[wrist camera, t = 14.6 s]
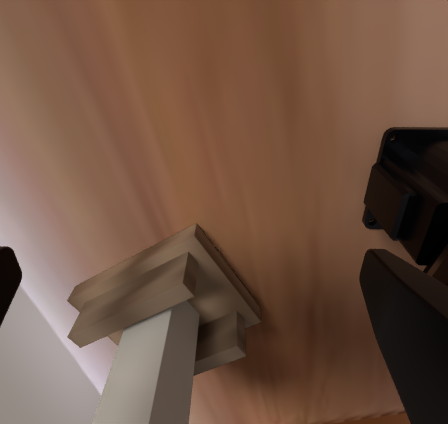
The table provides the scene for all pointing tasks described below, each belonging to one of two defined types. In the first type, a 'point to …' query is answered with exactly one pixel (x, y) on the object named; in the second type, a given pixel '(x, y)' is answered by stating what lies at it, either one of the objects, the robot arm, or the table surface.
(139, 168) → the table surface
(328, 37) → the table surface
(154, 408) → the beige rectangular block
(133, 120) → the table surface
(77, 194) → the table surface
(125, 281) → the beige rail channel
